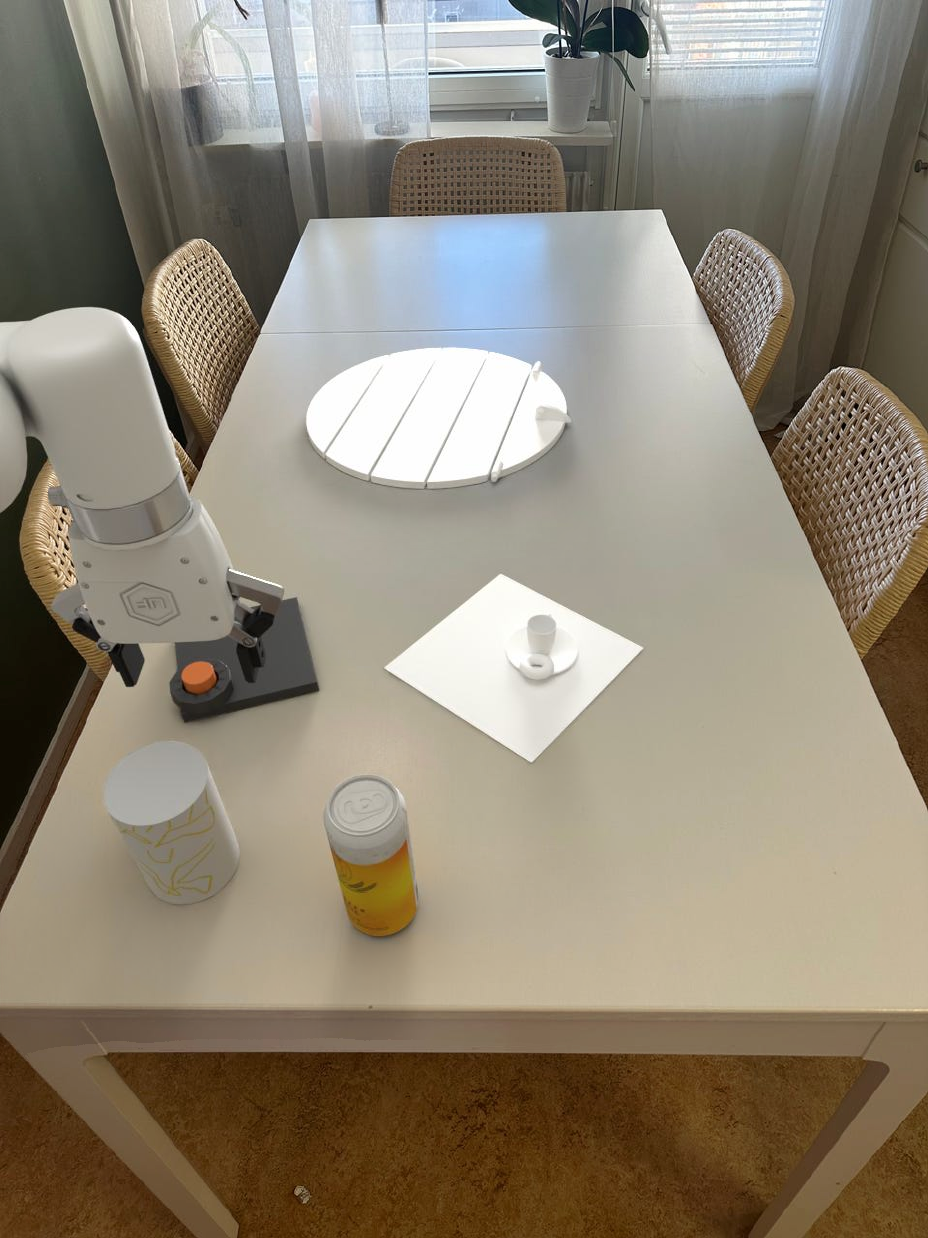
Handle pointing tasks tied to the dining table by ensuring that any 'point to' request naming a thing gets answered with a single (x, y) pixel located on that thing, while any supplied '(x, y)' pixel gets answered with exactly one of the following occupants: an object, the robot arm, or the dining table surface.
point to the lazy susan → (436, 418)
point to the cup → (173, 821)
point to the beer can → (372, 853)
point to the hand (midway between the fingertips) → (195, 672)
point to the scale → (275, 681)
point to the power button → (199, 677)
